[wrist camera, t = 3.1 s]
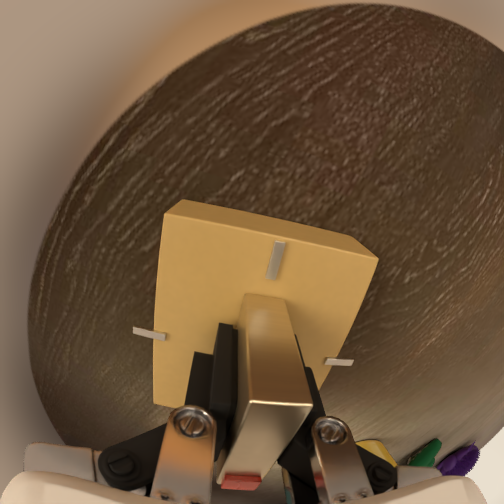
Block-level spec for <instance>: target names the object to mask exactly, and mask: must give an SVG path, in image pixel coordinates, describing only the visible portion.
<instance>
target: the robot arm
mask: <svg viewBox="0 0 504 504" xmlns="http://www.w3.org/2000/svg"><path fill="white" fill-rule="evenodd" d="M294 335H295V339H296V343H297V346H298V350H299V353H300V357H301V361H302V364H303V368H304V371H305V375H306V379H307V382H308V386H309V390H310V393H311V397H312V401H313V407H312V409H311V411H310V412H309V414H308V415H307V417H306V419H305V420H304V422H303V423H302V425H301V426H300V428H299V429H298V431H297V432H296V434H295V435H294V437H293V438H292V440H291V441H290V443H289V444H288V446H287V447H286V448H285V450H284V451H283V453H282V454H281V455H280V457H279V458H278V460H277V462H278V464H279V465H280V466H282V477H283V483H284V489H285V495H286V502H287V504H487V502H486V500H485V498H484V496H483V494H482V493H481V491H480V489H479V488H478V486H477V485H476V484H475V482H474V481H472V480H471V479H470V478H467V477H463V476H454V475H449V476H442V474H441V472H440V471H439V470H438V469H436V468H434V467H419V466H404V465H397V466H395V467H394V466H393V465H392V464H391V463H389V462H388V461H386V460H384V459H382V458H380V457H378V456H377V455H375V454H373V453H371V452H369V451H368V450H366V449H364V448H362V447H361V446H359V445H357V444H356V443H355V442H354V439H353V436H352V434H351V431H350V429H349V427H348V425H347V424H346V423H345V422H344V421H342V420H340V419H339V418H336V417H333V416H326V414H325V411H324V408H323V404H322V401H321V398H320V394H319V391H318V388H317V384H316V381H315V378H314V374H313V371H312V369H311V368H310V367H306V366H305V363H304V360H303V356H302V353H301V349H300V346H299V342H298V339H297V336H296V334H294ZM237 401H238V329H233V325H231V324H225V323H219V325H218V330H217V335H216V340H215V345H214V350H213V355H212V354H207V353H201V352H196V351H194V356H193V361H192V366H191V371H190V376H189V381H188V387H187V392H186V398H185V403H184V406H180V407H178V408H176V409H174V410H173V411H172V412H171V414H170V416H169V418H168V422H167V423H166V424H164V425H162V426H159V427H157V428H155V429H153V430H150V431H148V432H146V433H143V434H141V435H139V436H136V437H134V438H131V439H129V440H126V441H124V442H121V443H119V444H116V445H113V446H111V447H108V448H107V449H105V450H103V451H98V450H92V448H86V447H75V446H66V445H58V444H51V443H45V442H33V443H31V444H29V445H28V446H27V447H26V449H25V452H24V472H23V473H20V474H18V475H17V476H15V477H14V478H13V479H12V480H11V481H10V483H9V484H8V486H7V487H6V489H5V491H4V492H3V494H2V497H1V499H0V504H210V501H211V489H212V476H213V465H214V462H215V461H217V460H218V457H219V455H220V452H221V450H222V449H223V447H224V444H225V441H226V438H227V435H228V432H229V430H230V427H231V424H232V421H233V418H234V415H235V412H236V408H237Z"/></svg>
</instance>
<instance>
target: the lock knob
mask: <svg viewBox="0 0 504 504" xmlns="http://www.w3.org/2000/svg"><path fill="white" fill-rule="evenodd" d="M236 329H238V401H237V408H236V412H235V415H234V418H233V421H232V424H231V427H230V430H229V432H228V435H227V438H226V441H225V444H224V447H223V449H222V450H221V452H220V455H219V457H218V460H217V476H216V482H217V484H221V488H222V489H235V490H255V489H256V488H257V487H258V486H259V485H260V483H261V482H262V479H263V478H264V477H265V475H266V474H267V473H268V472H269V470H270V469H271V468H272V466H273V465H274V464H275V462H276V461H277V460H278V458H279V457H280V455H281V454H282V453H283V451H284V450H285V448H286V447H287V446H288V444H289V443H290V441H291V440H292V438H293V437H294V435H295V434H296V432H297V431H298V429H299V428H300V426H301V425H302V423H303V422H304V420H305V419H306V417H307V415H308V414H309V412H310V411H311V409H312V407H313V401H312V397H311V393H310V390H309V386H308V382H307V379H306V375H305V371H304V368H303V364H302V361H301V357H300V353H299V350H298V346H297V343H296V339H295V335H294V332H293V328H292V325H291V321H290V318H289V314H288V311H287V307H286V304H285V300H283V299H278V298H272V297H266V296H260V295H254V294H249V293H246V294H245V295H244V299H243V303H242V307H241V311H240V315H239V319H238V323H237V327H236Z"/></svg>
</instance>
